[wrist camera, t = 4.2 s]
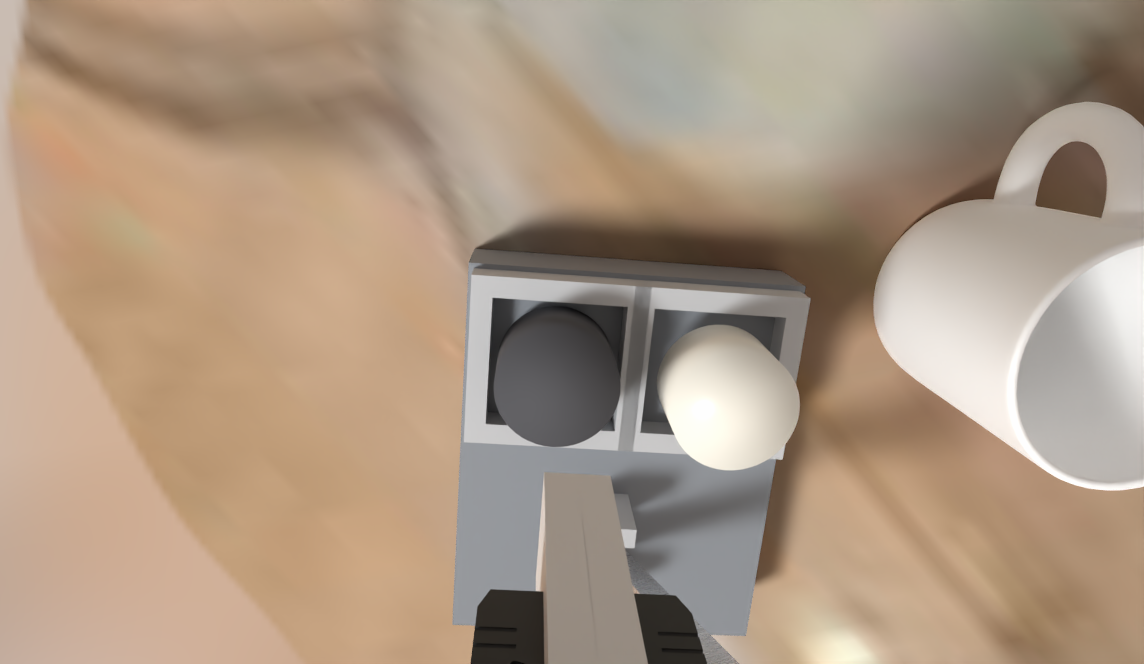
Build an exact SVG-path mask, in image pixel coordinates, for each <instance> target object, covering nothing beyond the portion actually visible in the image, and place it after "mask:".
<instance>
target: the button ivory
mask: <svg viewBox="0 0 1144 664" xmlns="http://www.w3.org/2000/svg"><path fill="white" fill-rule="evenodd" d="M657 392H658V396H659V400H660V402H661V405H662V407H663V409H664V412H665V414H666V416H667V419H668V421H669V423H670V425H671V428H672V430H673V432H674V435H675V437H676V439H677V441H678V443H679V444H680V446H681V447H682V448H683V450H684V451H685V452H686V453H687V454H688V455H689V456H690V457H692V458H693V459H694V460H696V461H697V462H699V463H701V464H703V465H705V466H708V467H711V468H715V469H719V470H741V469H746V468H750V467H753V466H756V465H758V464H760V463H762V462H764V461H766V460H768V459H769V458H771V457H772V456H774V455H775V454H776V453H777V452H778V451H780V450H781V448H782V447H783V446H784V445H785V444H786V443H787V441H788V440H789V439H790V437H791V435H792V433H793V432H794V429H795V427H796V424H797V421H798V417H799V411H800V398H799V393H798V389H797V386H796V383H795V381H794V379H793V377H792V376H791V374H790V373H789V372H788V370H787V369H786V368H785V367H784V366H783V365H782V364H781V363H780V362H779V361H778V360H777V359H776V358H775V357H774V356H773V355H772V354H771V353H770V352H769V351H768V350H767V349H766V348H765V347H764V346H763V344H762V343H761V342H760V341H759V340H758V339H757V338H755V337H754V336H753V335H752V334H750V333H748V332H747V331H745V330H743V329H740V328H738V327H734V326H730V325H708V326H704V327H700V328H697V329H695V330H692V331H691V332H689V333H687V334H685V335H684V336H682V337H681V338H679V339H678V340H677V341H676V342H675V343H674V344H673V345H672V346H671V347H670V349H669V350H668V351H667V353H666V354H665V356H664V358H663V360H662V362H661V364H660V367H659V371H658V376H657Z"/></svg>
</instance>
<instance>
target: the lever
mask: <svg viewBox="0 0 1144 664" xmlns="http://www.w3.org/2000/svg"><path fill="white" fill-rule="evenodd" d="M625 551H626V550H625ZM626 556H627V561H628V567H629V572H630V577H631V582H632V587H633V592H634V594H656V595H670V594H669V593H668V592H667V591H666V590H665V589H664V588H663V587H662V586H661V585H660V584H659V583H658V582H657V581H656V580H655V579H654V578H653V577H652V576H651V575H650V574H649V573H648V572H647V571H646V570H645V569H644V568H643V567H642V566H641V565H640V564H639V563H638V562H637V561H636V560H635V559H634V558H633V557H632V556H631V555H630V554H629V553H628V552H627V551H626ZM693 619H694V618H693ZM694 622H695V625H696V628H697V632H698V637H699V638H700V641H701V645H702V648H703V654H704V655H705V658H706V661H707V664H739V663H738V662H737V661H736V660H735V659H734V658H733V657H732V656H731V655H730V654H729V653H728V652H727V651H726V650H725V649H724V648H723V647H722V646H721V645H720V644H719V643H718V642H717V641H716V640H715V639H714V638H713V637H712V636H711V635H710V634H709V633H708V632H707V631H706V630H705V629H704V628H703V627H702V626H701V625H700V624H699V623H698V622H697V621H696V620H695V619H694Z"/></svg>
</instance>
